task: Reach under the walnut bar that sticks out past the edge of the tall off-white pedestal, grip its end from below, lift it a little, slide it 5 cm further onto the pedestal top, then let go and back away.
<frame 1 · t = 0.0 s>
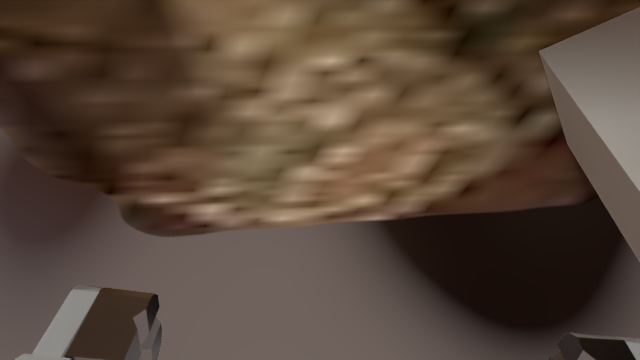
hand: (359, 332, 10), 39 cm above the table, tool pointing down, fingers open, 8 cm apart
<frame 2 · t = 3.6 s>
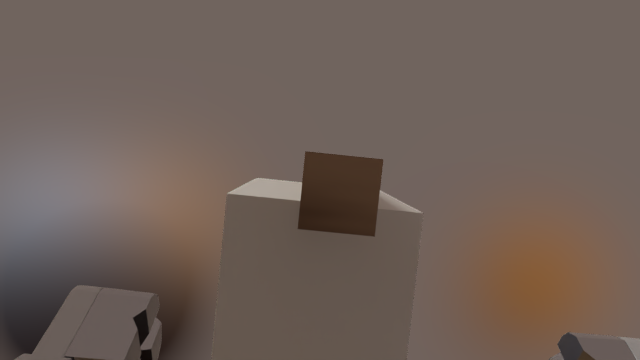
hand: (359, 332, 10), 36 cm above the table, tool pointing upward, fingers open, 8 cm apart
walnut bar: (323, 196, 35), point 37 cm above the table, touching off-white pedestal
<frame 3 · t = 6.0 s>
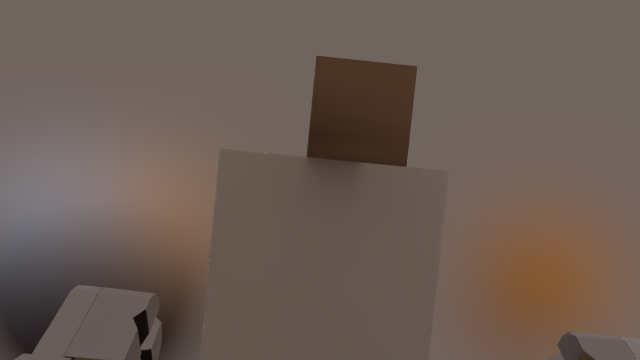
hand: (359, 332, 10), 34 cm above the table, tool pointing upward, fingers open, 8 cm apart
walnut bar: (330, 159, 31), point 37 cm above the table, touching off-white pedestal
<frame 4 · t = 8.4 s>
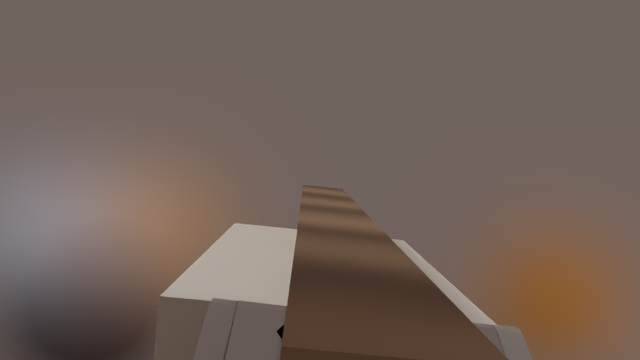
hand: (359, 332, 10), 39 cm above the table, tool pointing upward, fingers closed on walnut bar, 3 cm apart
walnut bar: (326, 277, 22), point 37 cm above the table, touching gripper, off-white pedestal
when the fingers open (40 cm above the table, at t = 11.8 s): walnut bar stays where it is, resting on off-white pedestal.
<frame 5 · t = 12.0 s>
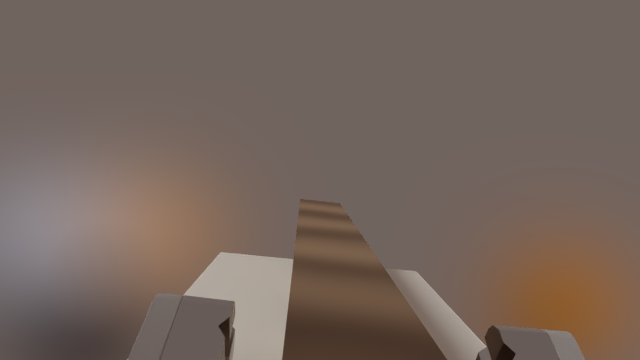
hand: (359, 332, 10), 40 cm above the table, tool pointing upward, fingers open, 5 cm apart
walnut bar: (323, 302, 22), point 37 cm above the table, touching off-white pedestal
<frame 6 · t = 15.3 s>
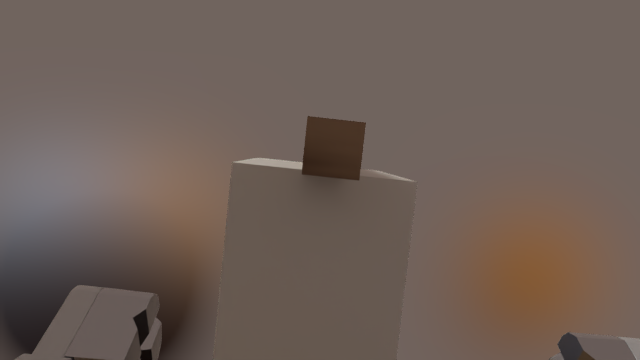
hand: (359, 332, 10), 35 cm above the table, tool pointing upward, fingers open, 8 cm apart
walnut bar: (320, 166, 42), point 37 cm above the table, touching off-white pedestal
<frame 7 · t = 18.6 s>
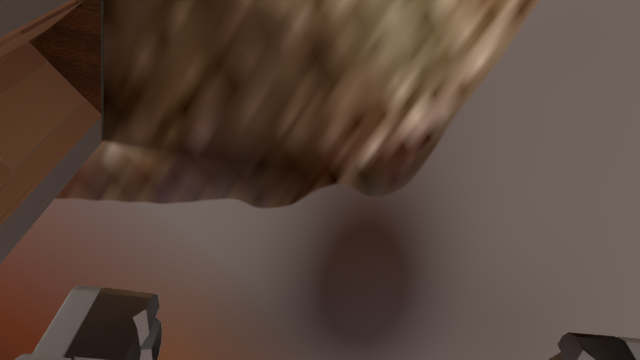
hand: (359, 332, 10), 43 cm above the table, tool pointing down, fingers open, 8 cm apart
cabinet: (56, 41, 51), on the table
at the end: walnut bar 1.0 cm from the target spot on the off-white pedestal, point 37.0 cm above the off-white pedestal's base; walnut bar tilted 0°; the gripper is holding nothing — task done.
